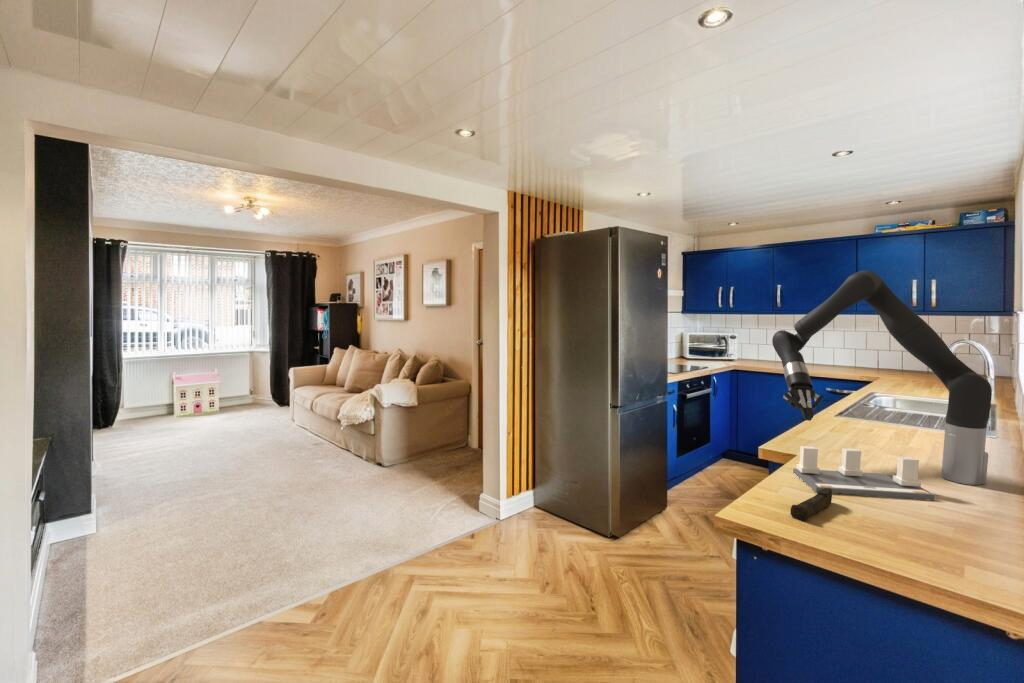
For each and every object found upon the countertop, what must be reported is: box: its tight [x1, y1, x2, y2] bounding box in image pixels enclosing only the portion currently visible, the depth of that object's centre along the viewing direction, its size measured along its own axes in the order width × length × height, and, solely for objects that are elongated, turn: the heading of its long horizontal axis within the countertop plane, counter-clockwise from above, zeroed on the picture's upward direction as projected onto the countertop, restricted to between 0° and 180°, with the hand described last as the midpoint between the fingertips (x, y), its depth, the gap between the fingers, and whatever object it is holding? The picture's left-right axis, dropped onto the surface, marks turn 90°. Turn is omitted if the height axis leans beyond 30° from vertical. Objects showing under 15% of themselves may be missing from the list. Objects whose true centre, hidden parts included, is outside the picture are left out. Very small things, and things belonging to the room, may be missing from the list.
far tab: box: [796, 445, 821, 474], centre depth 150 cm, size 5×4×8 cm
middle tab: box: [837, 447, 864, 476], centre depth 148 cm, size 5×4×8 cm
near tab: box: [893, 456, 922, 487], centre depth 140 cm, size 5×4×8 cm
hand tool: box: [790, 488, 833, 522], centre depth 125 cm, size 19×4×5 cm, turn 123°
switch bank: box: [792, 468, 935, 501], centre depth 143 cm, size 30×16×2 cm, turn 80°
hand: (809, 419), depth 162 cm, fingers closed
